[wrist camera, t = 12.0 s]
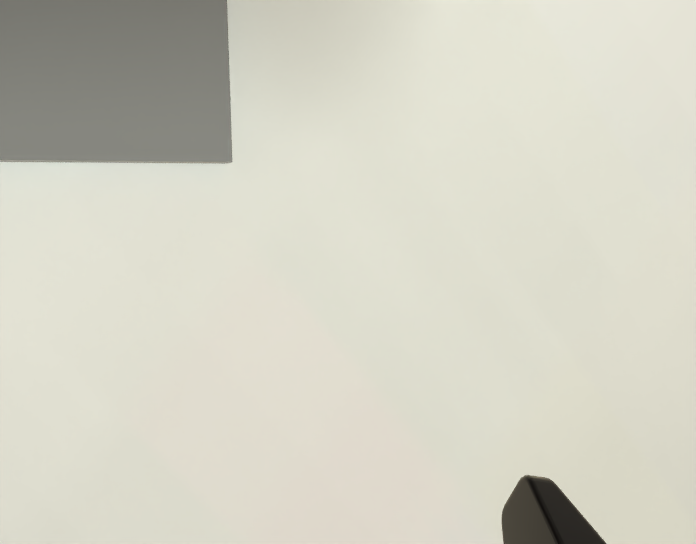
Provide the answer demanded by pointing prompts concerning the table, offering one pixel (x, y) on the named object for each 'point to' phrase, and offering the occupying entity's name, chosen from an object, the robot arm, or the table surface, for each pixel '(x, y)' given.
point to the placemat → (114, 81)
